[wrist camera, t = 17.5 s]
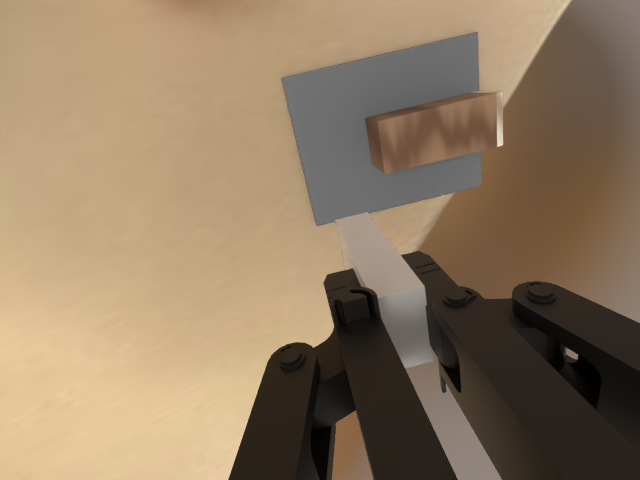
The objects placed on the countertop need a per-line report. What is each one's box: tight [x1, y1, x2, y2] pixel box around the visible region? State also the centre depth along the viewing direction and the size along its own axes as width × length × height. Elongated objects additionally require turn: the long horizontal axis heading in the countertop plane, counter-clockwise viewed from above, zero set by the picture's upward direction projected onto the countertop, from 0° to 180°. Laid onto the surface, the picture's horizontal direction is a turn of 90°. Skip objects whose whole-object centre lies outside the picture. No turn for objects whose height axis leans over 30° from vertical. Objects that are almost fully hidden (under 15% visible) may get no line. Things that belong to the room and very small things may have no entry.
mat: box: [281, 32, 482, 226], centre depth 38 cm, size 16×20×1 cm
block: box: [365, 91, 503, 174], centre depth 36 cm, size 5×5×12 cm
